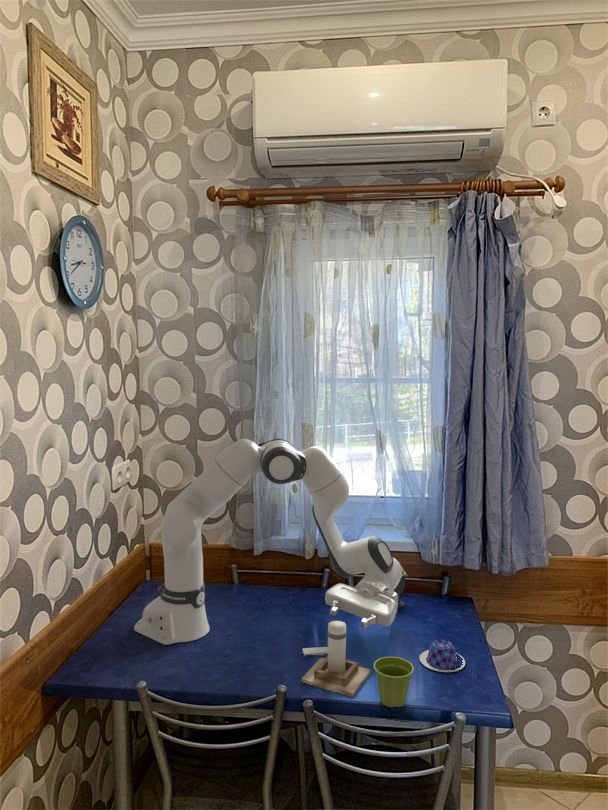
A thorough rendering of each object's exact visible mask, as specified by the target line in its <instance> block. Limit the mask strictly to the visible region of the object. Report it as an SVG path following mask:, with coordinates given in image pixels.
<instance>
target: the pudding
mask: <svg viewBox="0 0 608 810" xmlns="http://www.w3.org/2000/svg"><path fill="white" fill-rule="evenodd" d="M429 646H430V647H429V649H427V650H425V651H423V652H421V653H420V655H419V661H420V663H421V664H422V665H423V666H424V667H426V668H428V669H430V670H432V671H436V672H440V673H441V672H442V673H452V672H459V671H460V670H462V669H464V667H465V666H466V660H465V659H464V657H463V656H462V655H460V654H459V653H457V652H456V650H455V649H456V648H455V646H454V644H453V643H452V642H450V641H449V640H446V639H436V640H434V641H432V642H431V643H430V645H429ZM456 654H458V655H459V656H460V657H461V658H462V659H463V660H462V662H463V663H462V664H463V665H461V667H460V668H457V669H455V670H451V669H453V668H452V667H455V668H456V665H457V666H458V663H457V657H456ZM426 658H427V659H426ZM456 663H457V664H456ZM448 669H449V670H448Z"/></svg>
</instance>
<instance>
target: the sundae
mask: <svg viewBox="0 0 608 810" xmlns="http://www.w3.org/2000/svg"><path fill="white" fill-rule="evenodd" d="M398 562H399V563H400V564H401V562H400V561H398ZM408 577H409V575H408V573H407V572H406V570H404V568H403V567H402V576H401V579H400V582H399V583H398V585H397V586H396V588H395V589H394V590H393V591H394V592H396V593H397V594H398V607H397V608H403V607H405V602H403V601H401V600H400V595H401V594H402V593H403V592H404V589H405V583H406V580H407V578H408Z"/></svg>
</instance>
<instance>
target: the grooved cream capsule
mask: <svg viewBox="0 0 608 810" xmlns="http://www.w3.org/2000/svg"><path fill="white" fill-rule="evenodd" d="M327 627H328V628H327V636H328V637H327V647H328V655H327V656H328V672H330V673H334V674H337V675H341V676H344V675H345V660H347V659H346V656H347V655H346V652H347V651H346V650H347V649H346V648H347V624H346V623H345V621H342V620H332V621H329V622H328V626H327Z"/></svg>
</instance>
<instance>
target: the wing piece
mask: <svg viewBox="0 0 608 810" xmlns="http://www.w3.org/2000/svg"><path fill="white" fill-rule="evenodd" d="M302 654H304V655H303V657H307V656H306V655H316V656H325V655H324V654H328V646H317V647H315V646H314V647H306V648H305V647H304V648H302Z"/></svg>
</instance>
